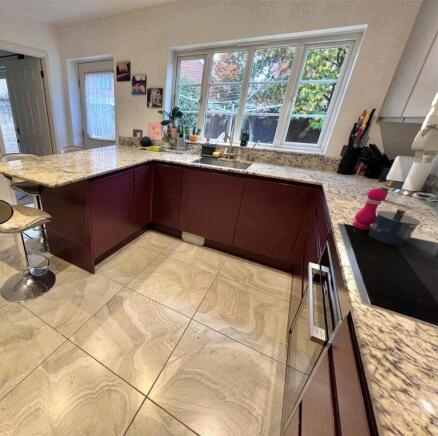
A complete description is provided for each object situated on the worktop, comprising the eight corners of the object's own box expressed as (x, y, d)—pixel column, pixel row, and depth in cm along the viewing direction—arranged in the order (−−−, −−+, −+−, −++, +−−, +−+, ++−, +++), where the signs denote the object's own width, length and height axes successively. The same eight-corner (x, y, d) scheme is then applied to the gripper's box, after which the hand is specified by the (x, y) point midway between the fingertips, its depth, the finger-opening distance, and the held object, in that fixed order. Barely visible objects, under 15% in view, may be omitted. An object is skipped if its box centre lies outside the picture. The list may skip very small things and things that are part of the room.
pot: (413, 245, 93) (426, 224, 89) (387, 245, 92) (399, 224, 88) (385, 231, 104) (395, 212, 100) (361, 231, 103) (370, 212, 99)
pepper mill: (354, 228, 106) (374, 186, 97) (348, 222, 112) (367, 182, 103) (374, 231, 103) (396, 188, 95) (366, 225, 110) (387, 184, 101)
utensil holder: (369, 197, 150) (378, 179, 145) (378, 197, 151) (386, 179, 146) (378, 200, 145) (388, 181, 140) (387, 200, 145) (397, 181, 140)
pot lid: (428, 226, 89) (434, 216, 87) (398, 226, 88) (404, 216, 86) (394, 213, 100) (399, 204, 99) (368, 213, 99) (372, 204, 98)
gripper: (440, 123, 81) (421, 163, 86) (462, 127, 89) (444, 164, 94) (415, 123, 86) (399, 161, 91) (438, 127, 94) (422, 162, 99)
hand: (422, 162), depth 93 cm, fingers open, 8 cm apart
